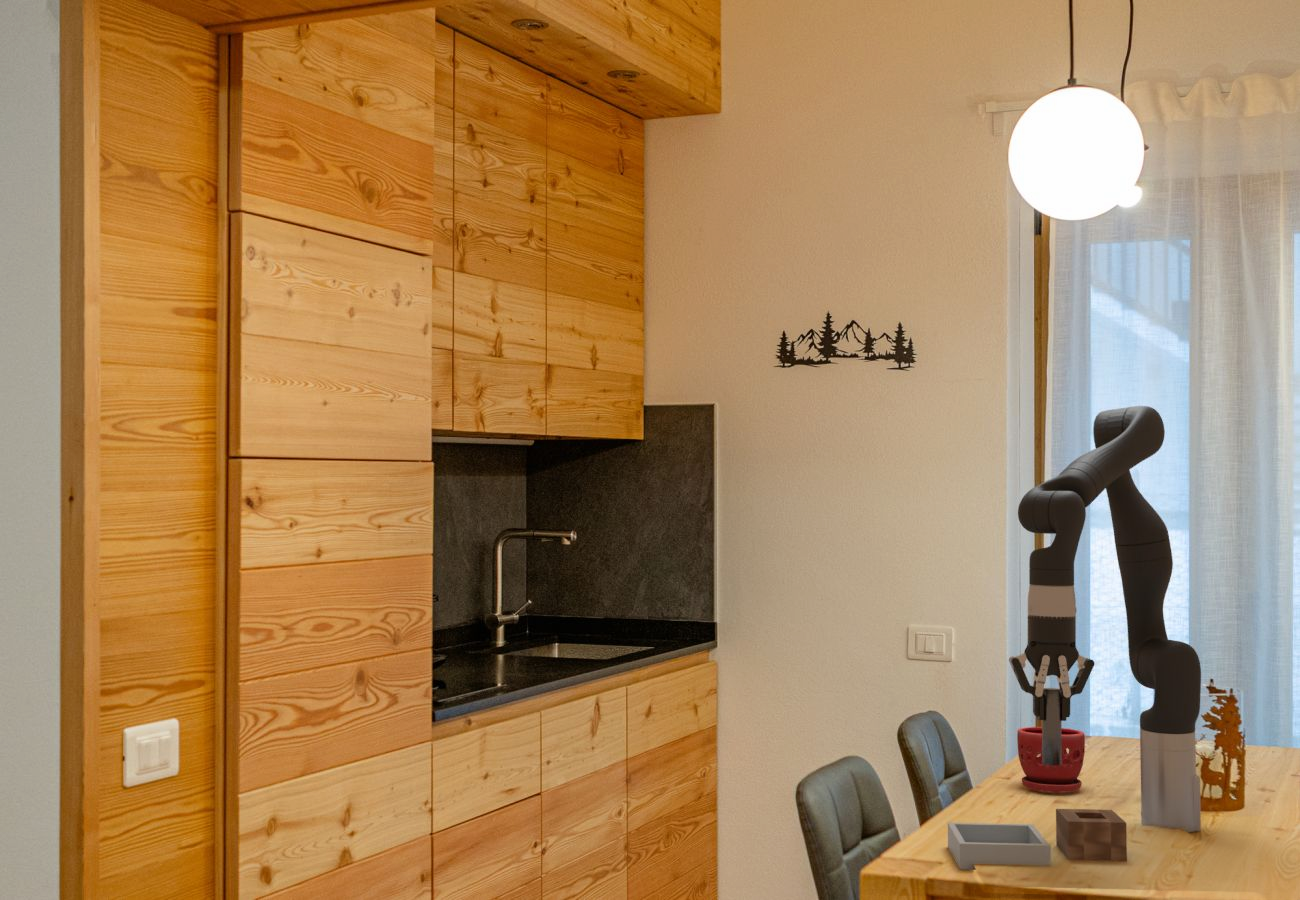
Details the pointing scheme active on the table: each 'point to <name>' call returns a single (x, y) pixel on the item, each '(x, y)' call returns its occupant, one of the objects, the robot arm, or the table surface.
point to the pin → (1051, 727)
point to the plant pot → (1051, 775)
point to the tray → (997, 844)
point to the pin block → (1091, 835)
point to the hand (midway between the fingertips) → (1051, 719)
